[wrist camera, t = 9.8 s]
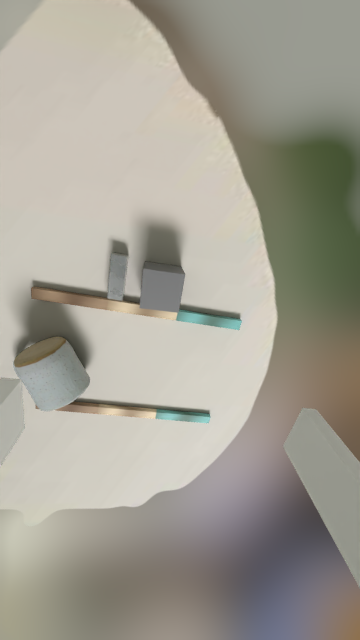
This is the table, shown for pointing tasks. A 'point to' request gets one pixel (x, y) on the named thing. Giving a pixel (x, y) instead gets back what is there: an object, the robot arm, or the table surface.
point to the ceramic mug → (51, 373)
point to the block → (161, 287)
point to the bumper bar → (117, 276)
